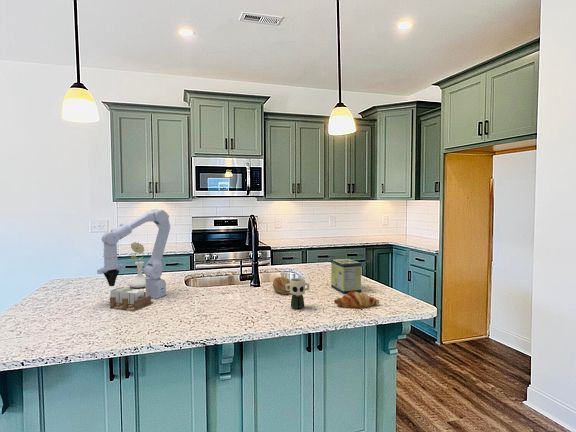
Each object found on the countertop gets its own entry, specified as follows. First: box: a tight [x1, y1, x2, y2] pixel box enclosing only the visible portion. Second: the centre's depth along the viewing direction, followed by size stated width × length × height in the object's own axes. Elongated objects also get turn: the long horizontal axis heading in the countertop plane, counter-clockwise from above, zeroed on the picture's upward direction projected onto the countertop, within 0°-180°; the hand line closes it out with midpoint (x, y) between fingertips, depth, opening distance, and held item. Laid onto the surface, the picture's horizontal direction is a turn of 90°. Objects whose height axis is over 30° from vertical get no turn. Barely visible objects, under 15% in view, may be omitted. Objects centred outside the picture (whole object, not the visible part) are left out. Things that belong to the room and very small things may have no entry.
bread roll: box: [271, 276, 291, 295], centre depth 197 cm, size 10×15×8 cm, turn 18°
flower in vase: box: [128, 241, 146, 289], centre depth 209 cm, size 13×11×25 cm
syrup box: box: [109, 287, 145, 305], centre depth 177 cm, size 6×6×14 cm
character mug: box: [286, 277, 310, 310], centre depth 170 cm, size 11×7×13 cm, turn 97°
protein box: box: [330, 258, 362, 295], centre depth 201 cm, size 10×16×16 cm
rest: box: [109, 291, 154, 312], centre depth 175 cm, size 13×13×5 cm
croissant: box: [333, 292, 380, 309], centre depth 173 cm, size 21×10×8 cm, turn 96°
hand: (111, 285), depth 178 cm, fingers closed
